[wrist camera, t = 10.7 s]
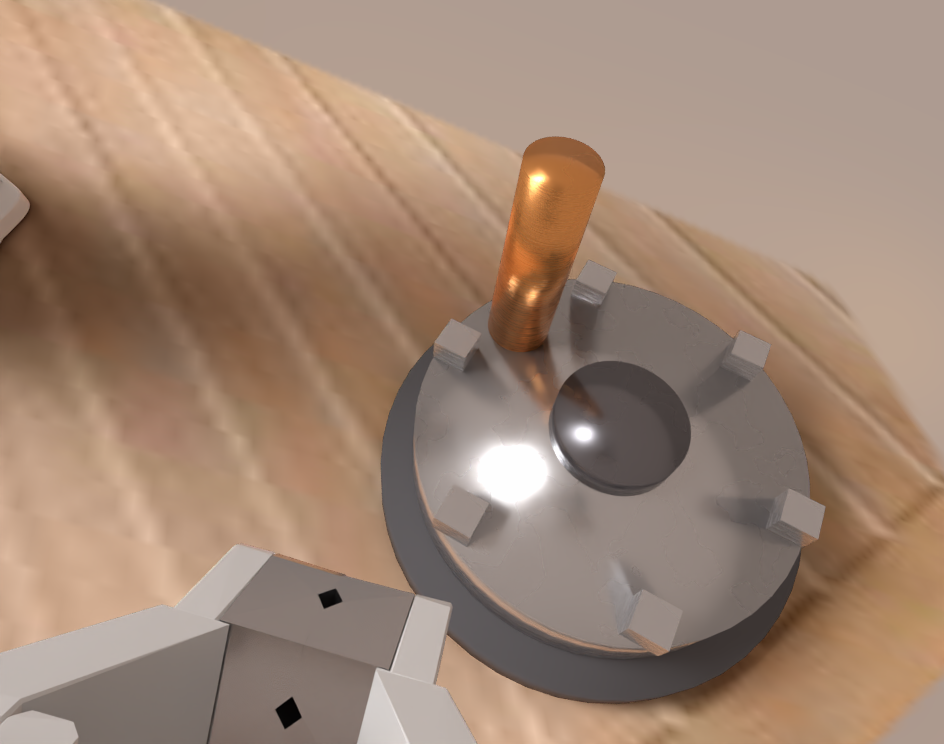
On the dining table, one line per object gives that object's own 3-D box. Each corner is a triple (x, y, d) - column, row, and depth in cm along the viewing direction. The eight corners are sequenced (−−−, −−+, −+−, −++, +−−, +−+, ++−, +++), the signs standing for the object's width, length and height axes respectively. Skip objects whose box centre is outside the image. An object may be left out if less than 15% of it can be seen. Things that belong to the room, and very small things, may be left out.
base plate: (298, 443, 32) (293, 427, 31) (581, 262, 41) (588, 243, 39) (590, 826, 25) (603, 830, 23) (859, 508, 34) (881, 496, 32)
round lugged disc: (513, 266, 37) (564, 58, 26) (809, 407, 34) (1006, 238, 23) (336, 524, 28) (299, 369, 17) (717, 748, 25) (971, 735, 14)
